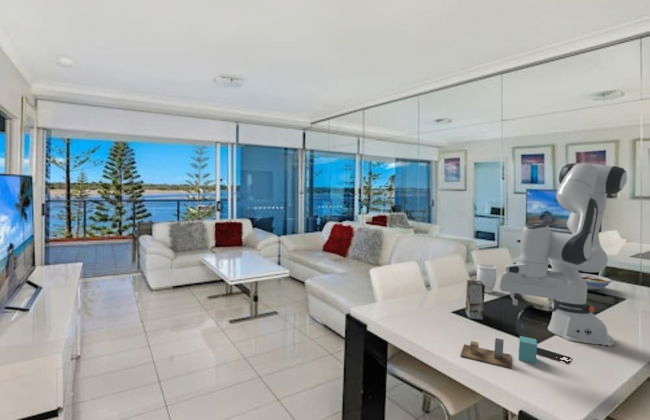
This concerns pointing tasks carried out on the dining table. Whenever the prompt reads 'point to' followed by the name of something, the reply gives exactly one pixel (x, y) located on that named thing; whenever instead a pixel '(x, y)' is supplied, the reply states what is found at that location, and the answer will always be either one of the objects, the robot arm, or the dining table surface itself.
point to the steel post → (498, 349)
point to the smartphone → (551, 355)
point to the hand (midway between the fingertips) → (530, 307)
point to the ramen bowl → (595, 281)
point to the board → (484, 355)
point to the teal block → (527, 349)
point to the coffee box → (475, 299)
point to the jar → (487, 276)
